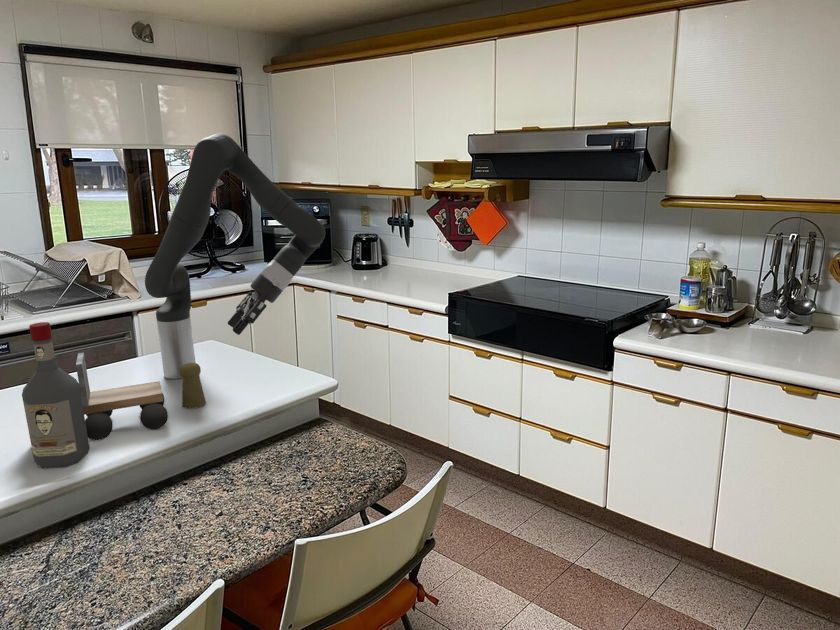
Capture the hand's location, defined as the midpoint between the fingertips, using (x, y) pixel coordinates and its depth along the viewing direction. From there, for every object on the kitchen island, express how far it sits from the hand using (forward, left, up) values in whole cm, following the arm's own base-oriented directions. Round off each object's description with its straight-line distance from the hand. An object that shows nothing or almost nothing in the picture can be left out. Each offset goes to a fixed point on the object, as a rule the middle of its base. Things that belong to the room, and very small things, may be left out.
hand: (232, 329), depth 168 cm
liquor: (+20, -41, -19) cm, 49 cm away
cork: (0, -12, -19) cm, 22 cm away
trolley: (+6, -28, -19) cm, 34 cm away
